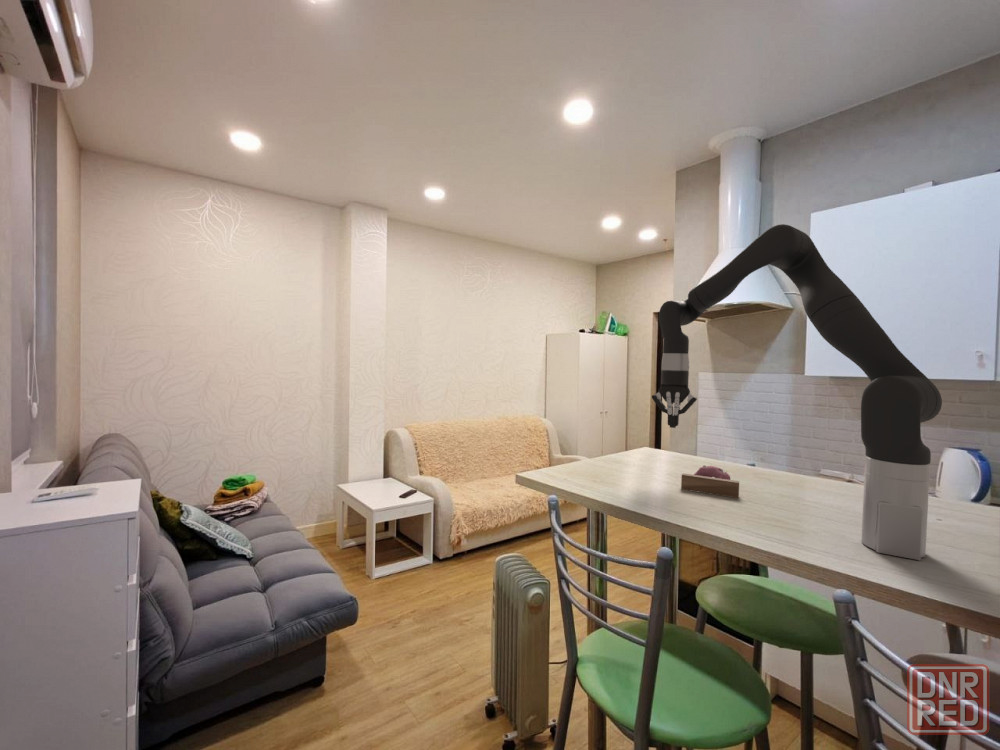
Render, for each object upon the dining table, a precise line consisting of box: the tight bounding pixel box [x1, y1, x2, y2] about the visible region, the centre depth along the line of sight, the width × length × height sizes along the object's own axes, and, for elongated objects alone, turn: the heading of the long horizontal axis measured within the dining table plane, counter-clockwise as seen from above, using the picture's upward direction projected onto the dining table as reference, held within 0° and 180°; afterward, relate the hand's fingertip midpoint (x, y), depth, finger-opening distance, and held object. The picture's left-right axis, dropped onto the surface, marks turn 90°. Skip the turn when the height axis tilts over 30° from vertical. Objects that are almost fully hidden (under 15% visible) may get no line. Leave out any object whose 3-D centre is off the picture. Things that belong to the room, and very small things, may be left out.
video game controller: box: [693, 465, 731, 480], centre depth 125 cm, size 10×5×7 cm, turn 22°
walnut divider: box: [680, 472, 740, 499], centre depth 119 cm, size 2×14×4 cm, turn 59°
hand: (673, 427), depth 130 cm, fingers closed
